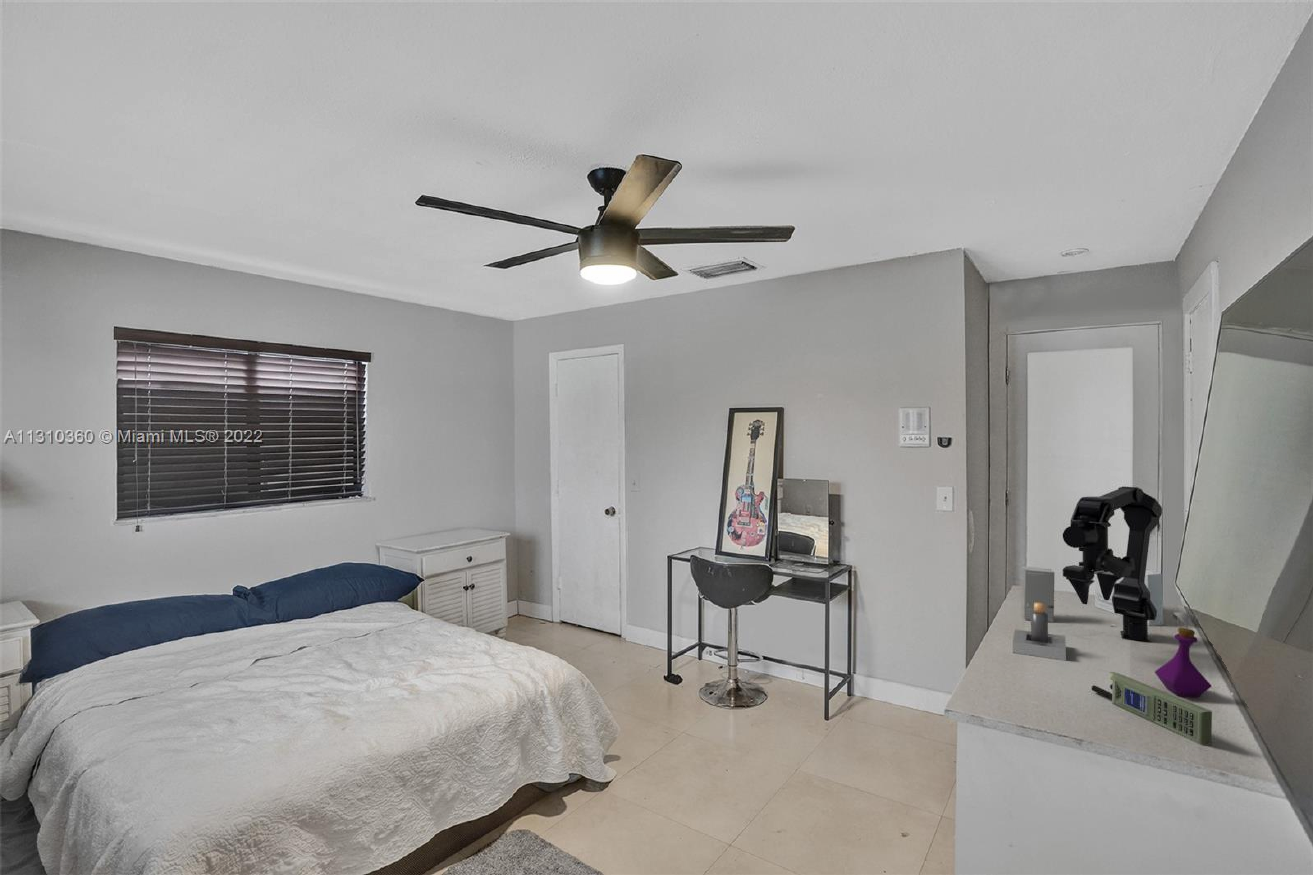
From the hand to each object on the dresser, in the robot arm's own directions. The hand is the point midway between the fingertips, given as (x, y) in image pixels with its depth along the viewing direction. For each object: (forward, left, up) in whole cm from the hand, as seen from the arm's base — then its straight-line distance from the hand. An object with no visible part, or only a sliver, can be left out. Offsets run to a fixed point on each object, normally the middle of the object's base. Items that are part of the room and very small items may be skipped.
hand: (1095, 602), depth 172 cm
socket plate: (+7, -13, -13) cm, 20 cm away
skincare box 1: (-26, -14, -13) cm, 32 cm away
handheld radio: (+42, +7, -14) cm, 45 cm away
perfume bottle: (+24, +15, -13) cm, 31 cm away
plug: (+7, -13, -13) cm, 20 cm away
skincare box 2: (-43, +10, -13) cm, 46 cm away
